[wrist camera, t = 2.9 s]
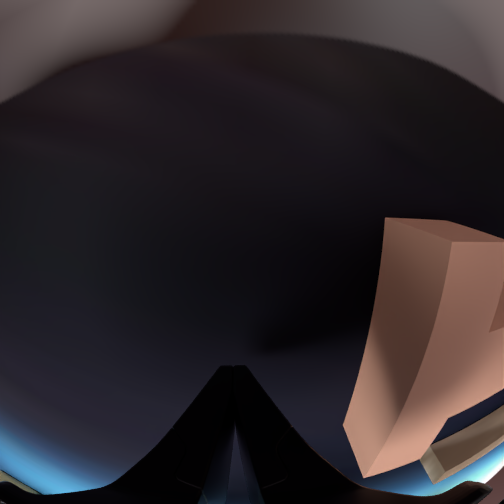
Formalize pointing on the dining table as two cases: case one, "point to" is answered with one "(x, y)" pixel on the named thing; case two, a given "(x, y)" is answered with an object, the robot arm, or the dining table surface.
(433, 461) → the wooden l block
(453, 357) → the t block
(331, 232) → the dining table surface
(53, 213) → the dining table surface
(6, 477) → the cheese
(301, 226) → the dining table surface
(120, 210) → the dining table surface
